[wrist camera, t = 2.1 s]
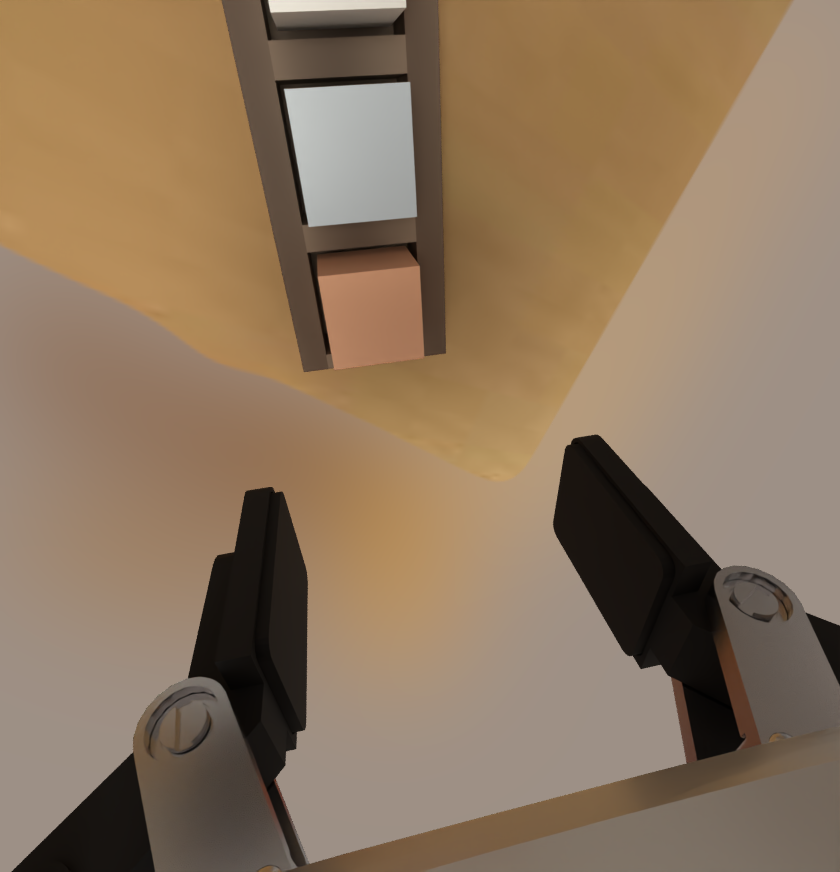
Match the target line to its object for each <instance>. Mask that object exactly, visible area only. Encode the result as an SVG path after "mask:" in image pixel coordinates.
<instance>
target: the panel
mask: <svg viewBox="0 0 840 872" xmlns="http://www.w3.org/2000/svg"><path fill="white" fill-rule="evenodd" d="M222 4H223V8H224V13H225V17H226V22H227V26H228V31H229V35H230V40H231V44H232V49H233V53H234V58H235V62H236V67H237V71H238V76H239V81H240V85H241V90H242V94H243V99H244V103H245V108H246V112H247V117H248V121H249V126H250V130H251V135H252V139H253V144H254V148H255V153H256V157H257V162H258V166H259V171H260V175H261V180H262V184H263V189H264V193H265V198H266V203H267V207H268V212H269V216H270V221H271V225H272V230H273V234H274V239H275V243H276V248H277V252H278V257H279V261H280V266H281V270H282V275H283V279H284V284H285V288H286V293H287V297H288V302H289V306H290V311H291V315H292V320H293V324H294V329H295V334H296V338H297V343H298V347H299V352H300V356H301V361H302V365H303V370H304V372H309V371H316V370H324V369H331V368H334V366H333V360H332V354H331V349H330V343H329V338H328V332H327V326H326V321H325V315H324V310H323V304H322V298H321V293H320V287H319V281H318V272H317V254H327V253H336V252H346V251H356V250H366V249H376V248H386V247H396V246H406V248H407V249H408V250H409V252H410V253H411V255H412V256H413V257H414V259H415V260H416V261H417V263H418V264H419V266H420V283H421V302H422V321H423V341H424V356H430V355H437V354H445V353H446V337H445V292H444V246H443V201H442V155H441V110H440V64H439V19H438V0H406V8H405V10H404V11H403V12H402V13H401V14H400V15H399V17H398V18H397V19H396V20H395V21H394V22H393V24H392V25H391V26H385V27H361V28H337V29H312V30H288V31H278V30H277V27H276V25H275V22H274V20H273V17H272V15H271V12H270V7H269V1H268V0H222ZM401 82H410V89H411V108H412V128H413V147H414V166H415V186H416V205H417V217H410V218H400V219H389V220H379V221H368V222H357V223H347V224H336V225H325V226H315V227H309V225H308V220H307V214H306V209H305V203H304V197H303V192H302V186H301V181H300V175H299V169H298V164H297V158H296V153H295V147H294V141H293V136H292V130H291V125H290V119H289V113H288V108H287V102H286V97H285V91H284V89H295V88H313V87H330V86H348V85H365V84H383V83H401Z"/></svg>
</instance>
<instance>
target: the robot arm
mask: <svg viewBox="0 0 840 872" xmlns="http://www.w3.org/2000/svg"><path fill="white" fill-rule="evenodd" d="M553 527H554V531H555V534H556V536H557V538H558V540H559V541H560V543H561V545H562V546H563V548H564V550H565V552H566V554H567V555H568V557H569V559H570V560H571V562H572V564H573V565H574V567H575V569H576V571H577V572H578V574H579V575H580V578H581V579H582V581H583V583H584V584H585V586H586V588H587V590H588V591H589V593H590V595H591V596H592V598H593V600H594V602H595V603H596V605H597V607H598V609H599V610H600V612H601V614H602V615H603V617H604V619H605V621H606V622H607V624H608V626H609V628H610V629H611V631H612V633H613V634H614V636H615V638H616V640H617V641H618V643H619V645H620V646H621V648H622V650H623V651H624V652H625V653H626V654H627V655H628V656H633V657H634V658H635V660H636V662H637V664H638V665H639V667H640V668H641V669H643V668H648V667H652V666H656V665H662V667H663V669H664V670H665V672H666V673H667V675H668V676H670V677H671V680H672V685H673V691H674V696H675V701H676V707H677V713H678V718H679V724H680V730H681V735H682V740H683V746H684V752H685V757H686V763H687V764H683V765H679V766H675V767H671V768H668V769H664V770H660V771H656V772H652V773H648V774H644V775H641V776H637V777H633V778H629V779H625V780H621V781H617V782H614V783H610V784H606V785H602V786H599V787H595V788H591V789H587V790H583V791H579V792H575V793H572V794H568V795H564V796H560V797H556V798H553V799H549V800H546V801H541V802H537V803H534V804H530V805H526V806H522V807H518V808H515V809H511V810H507V811H504V812H499V813H496V814H492V815H488V816H484V817H481V818H477V819H474V820H469V821H466V822H462V823H458V824H455V825H451V826H447V827H443V828H440V829H436V830H432V831H428V832H425V833H421V834H417V835H413V836H410V837H406V838H402V839H399V840H395V841H391V842H387V843H384V844H380V845H376V846H373V847H369V848H365V849H361V850H358V851H354V852H350V853H346V854H343V855H340V856H336V857H333V858H329V859H325V860H322V861H318V862H315V863H312V864H309V861H308V859H307V857H306V854H305V851H304V849H303V846H302V844H301V841H300V839H299V836H298V834H297V831H296V829H295V826H294V824H293V821H292V819H291V816H290V814H289V811H288V809H287V806H286V804H285V801H284V799H283V796H282V793H281V791H280V788H279V786H278V784H277V781H276V777H277V775H278V774H279V773H280V771H281V770H282V769H283V768H284V766H285V761H286V759H285V758H286V751H289V750H294V749H296V741H297V732H298V731H303V730H305V728H306V691H307V690H306V689H307V598H308V597H307V595H308V581H307V571H306V567H305V564H304V560H303V557H302V553H301V550H300V547H299V543H298V540H297V537H296V533H295V530H294V527H293V523H292V520H291V517H290V513H289V510H288V507H287V503H286V500H285V497H284V494H283V492H276V493H275V491H274V489H273V488H272V487H268V488H261V489H255V490H249V491H246V492H245V496H244V502H243V507H242V513H241V519H240V524H239V529H238V535H237V541H236V546H235V552H233V553H227V554H222V555H218V556H217V557H216V559H215V561H214V564H213V568H212V572H211V576H210V581H209V585H208V590H207V595H206V599H205V603H204V608H203V613H202V617H201V621H200V626H199V630H198V635H197V639H196V644H195V648H194V653H193V658H192V662H191V666H190V671H189V676H188V679H185V680H183V681H181V682H178V683H176V684H174V685H172V686H170V687H169V688H168V689H166V690H165V691H164V692H162V693H161V694H160V695H158V696H157V697H156V698H155V700H154V701H153V702H152V703H151V704H150V705H149V706H148V707H147V708H146V710H145V712H144V714H143V715H142V717H141V718H140V720H139V722H138V724H137V727H136V731H135V734H134V737H133V753H132V754H131V755H130V756H129V757H128V758H127V759H126V760H125V761H124V762H123V763H122V764H121V765H120V766H119V767H118V768H117V769H116V770H114V772H113V773H112V774H111V775H109V776H108V777H107V778H106V779H105V780H104V781H103V782H102V783H101V784H100V785H99V786H98V787H97V788H96V789H95V790H94V791H93V792H92V793H91V794H90V795H89V796H88V797H87V798H86V799H85V800H84V801H83V802H82V803H81V804H80V805H79V806H78V807H77V808H76V809H75V810H74V811H73V812H72V813H71V814H70V815H69V816H68V817H67V818H66V819H65V820H64V821H63V822H62V823H61V824H60V825H59V826H58V827H57V828H56V829H55V830H53V831H52V832H51V834H49V835H48V836H47V837H46V839H44V840H43V841H42V842H41V843H40V844H39V845H38V846H37V847H36V848H35V849H34V850H33V851H32V852H31V853H30V854H29V855H28V856H27V857H26V858H25V859H24V860H23V861H22V862H21V863H20V864H19V865H18V866H17V867H16V868H15V869H14V870H13V871H12V872H840V626H839V625H836V624H834V623H831V622H828V621H826V620H823V619H821V618H818V617H816V616H813V615H810V614H808V613H805V611H804V608H803V606H802V604H801V603H800V601H799V599H798V598H797V596H796V595H795V593H794V592H793V591H792V590H791V589H789V588H788V587H787V586H786V585H785V584H784V583H783V582H781V581H780V580H778V579H776V578H775V577H774V576H772V575H770V574H768V573H765V572H763V571H761V570H759V569H755V568H750V567H747V566H730V567H726V568H723V569H721V568H720V567H719V566H718V565H717V564H716V563H715V562H714V561H713V560H712V558H711V557H710V556H709V555H708V554H707V553H706V552H705V551H704V550H703V549H702V547H701V546H700V545H699V544H698V543H697V542H696V541H695V540H694V538H693V537H692V536H691V535H690V534H689V533H688V532H687V531H686V530H685V529H684V527H683V526H682V525H681V524H680V523H679V522H678V521H677V520H676V519H675V517H674V516H673V515H672V514H671V513H670V512H669V511H668V510H667V509H666V507H665V506H664V505H663V504H662V503H661V502H660V501H659V500H658V499H657V498H656V496H655V495H654V494H653V493H652V492H651V491H650V490H649V489H648V488H647V487H646V486H645V485H644V484H643V483H642V482H641V481H640V480H639V479H638V478H637V477H636V475H635V474H634V473H633V472H632V471H631V470H630V469H629V467H628V466H627V465H626V464H625V463H624V462H623V461H622V460H621V459H620V457H619V456H618V455H617V454H616V453H615V452H614V451H613V450H612V449H611V447H610V446H609V445H608V444H607V443H606V442H605V441H604V440H603V439H602V438H601V437H600V436H599V435H591V436H585V437H578V438H575V439H573V440H572V442H571V445H567V446H566V448H565V453H564V459H563V465H562V471H561V477H560V484H559V490H558V496H557V502H556V508H555V514H554V521H553Z"/></svg>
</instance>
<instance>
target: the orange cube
mask: <svg viewBox="0 0 840 872" xmlns="http://www.w3.org/2000/svg"><path fill="white" fill-rule="evenodd" d="M317 272H318V281H319V287H320V293H321V298H322V304H323V310H324V315H325V321H326V326H327V332H328V338H329V343H330V349H331V354H332V360H333V366H334V370H339V369H346V368H354V367H361V366H369V365H376V364H384V363H392V362H399V361H407V360H414V359H422V358H424V341H423V321H422V302H421V283H420V266H419V264H418V263H417V261H416V260H415V259H414V257H413V256H412V255H411V253H410V252H409V250H408V249H407V248H406V246H396V247H386V248H376V249H366V250H356V251H346V252H336V253H327V254H317Z"/></svg>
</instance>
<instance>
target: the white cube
mask: <svg viewBox="0 0 840 872" xmlns="http://www.w3.org/2000/svg"><path fill="white" fill-rule="evenodd" d="M268 1H269V7H270V12H271V15H272V17H273V20H274V22H275V25H276V27H277V30H278V31H288V30H312V29H337V28H361V27H385V26H391V25H392V24H393V22H394V21H395V20H396V19H397V18H398V17H399V15H400V14H401V13H402V12H403V11H404V10H405V8H406V0H268Z"/></svg>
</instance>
